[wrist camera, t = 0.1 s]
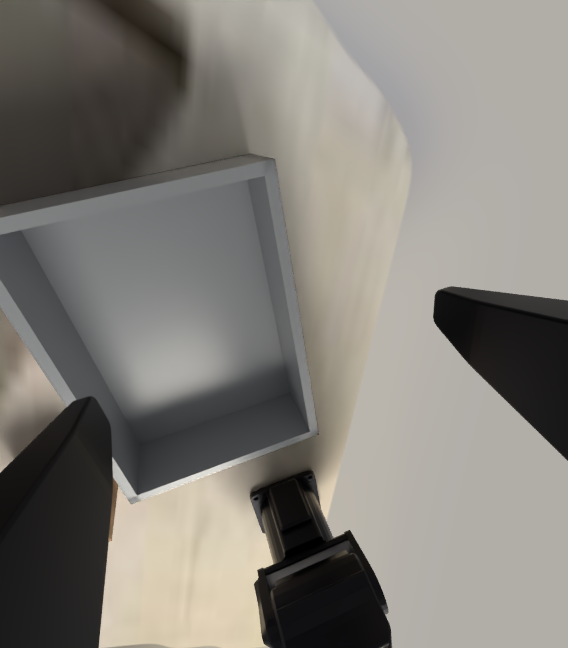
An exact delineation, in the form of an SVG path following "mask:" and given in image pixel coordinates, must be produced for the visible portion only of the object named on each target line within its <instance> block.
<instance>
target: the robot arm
mask: <svg viewBox="0 0 568 648" xmlns="http://www.w3.org/2000/svg"><path fill="white" fill-rule="evenodd" d="M433 318H434V322H435V324H436V325H437V327H438V328H439V329H440V330H441V332H442V333H443V334H444V335H445V336H446V338H447V339H448V340H449V341H450V342H451V343H452V345H453V346H454V347H455V348H456V350H457V351H458V352H459V353H460V354H461V355H462V357H463V358H464V359H465V360H466V361H467V362H468V364H469V365H470V366H471V367H472V368H473V369H474V370H475V371H476V372H477V373H479V375H481V376H482V378H483V379H484V380H486V381H487V382H488V383H489V384H490V385H491V386H492V387H493V388H494V389H495V390H496V391H497V392H498V393H499V394H500V395H501V396H502V397H503V398H504V399H505V400H506V401H507V402H508V403H509V404H510V405H511V406H512V407H513V408H514V409H515V410H516V411H517V412H518V413H520V415H521V416H522V417H523V418H524V419H526V420H527V421H528V422H529V423H530V424H531V425H532V426H533V427H534V428H535V429H536V430H537V431H538V432H539V433H540V434H541V435H542V436H543V437H544V438H545V439H546V440H547V441H548V442H549V443H550V444H551V445H552V446H553V447H554V448H555V449H556V450H557V451H558V452H559V453H560V454H562V456H564V457H565V459H567V460H568V301H567V300H559V299H550V298H542V297H534V296H525V295H517V294H510V293H501V292H493V291H485V290H477V289H469V288H461V287H447V288H444V289H441V290H438V291H437V292H436V294H435V301H434V314H433ZM250 498H251V502H252V505H253V507H254V510H255V513H256V516H257V519H258V522H259V524H260V527H261V530H262V532H263V533H266V537H267V541H268V544H269V548H270V552H271V556H272V559H273V563H274V564H273V565H271V566H269V567H266V568H261V569H259V570H257V571H258V576H259V578H258V580H257V581H256V582H255V583H254V586H255V591H256V596H257V601H258V606H259V615H260V624H261V633H262V639H263V642H264V644H265V645H267V646H268V647H270V648H392V640H391V629H390V625H389V622H388V620H387V618H386V616H385V614H387V613H388V607H387V603H386V600H385V597H384V595H383V591H382V589H381V586H380V584H379V582H378V580H377V577H376V575H375V573H374V571H373V570H372V568H371V566H370V564H369V562H368V561H367V559H366V557H365V555H364V554H363V552H362V550H361V549H360V547H359V545H358V543H357V542H356V540H355V538H354V537H353V535H352V533H351V531H350V530H348V531H346V532H344V534H342V535H340V536H337V537H335V538H333V536H332V533H331V531H330V529H329V527H328V524H327V522H326V520H325V517H324V515H323V513H322V510H321V507H320V502H319V496H318V491H317V485H316V480H315V475H314V473H313V471H307V472H304V473H302V474H299V475H297V476H294V477H291V478H289V479H286V480H284V481H281V482H279V483H276V484H274V485H271V486H268V487H266V488H263V489H261V490H258V491H256V492H253V493H252V494H251V495H250ZM112 499H113V464H112V432H111V425H110V422H109V420H108V418H107V416H106V415H105V413H104V411H103V409H102V408H101V406H100V404H99V403H98V401H97V399H96V398H95V397H93V396H88V397H84V398H81V399H78V400H75V401H73V402H72V403H71V404H70V405H69V406H67V407H66V408H65V409H64V410H63V411H62V412H61V413H60V414H59V415H58V416H57V417H56V418H55V419H54V420H53V421H52V422H51V423H50V424H49V425H48V426H47V427H46V428H45V429H44V430H43V431H42V432H41V433H40V434H39V435H38V436H37V437H36V438H35V439H34V440H33V441H32V442H31V443H30V444H29V445H28V446H27V447H26V448H25V449H24V450H23V451H22V452H21V453H20V454H19V455H18V456H17V457H16V458H15V459H14V460H13V461H12V462H11V463H10V464H9V465H8V466H7V467H6V468H5V469H4V470H3V471H2V472H1V473H0V648H98V647H99V637H100V626H101V616H102V605H103V594H104V584H105V573H106V563H107V552H108V542H109V531H110V520H111V510H112Z"/></svg>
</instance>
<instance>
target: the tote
mask: <svg viewBox="0 0 568 648" xmlns="http://www.w3.org/2000/svg"><path fill="white" fill-rule="evenodd" d="M0 307H1V309H2V310H3V312H4V313H5V315H6V316H7V318H8V319H9V321H10V322H11V324H12V325H13V327H14V328H15V330H16V331H17V333H18V334H19V336H20V337H21V339H22V340H23V342H24V344H25V345H26V347H27V348H28V350H29V351H30V353H31V354H32V356H33V357H34V359H35V360H36V362H37V363H38V365H39V366H40V368H41V369H42V371H43V372H44V374H45V375H46V377H47V378H48V380H49V381H50V383H51V384H52V386H53V387H54V389H55V390H56V392H57V393H58V395H59V396H60V398H61V399H62V401H63V402H64V404H65V405H66V407H67V406H69V405H70V404H71V403H72V402H73V401H75V400H78V399H81V398H84V397H88V396H93V397H95V398H96V399H97V401H98V403H99V404H100V406H101V408H102V409H103V411H104V413H105V415H106V416H107V418H108V420H109V422H110V425H111V432H112V464H113V478H114V479H115V481H116V482H117V484H118V485H119V487H120V489H121V490H122V492H123V493H124V495H125V496H126V498H127V499H128V501H129V502H130V504H133V503H136V502H139V501H141V500H144V499H147V498H149V497H152V496H155V495H158V494H160V493H163V492H166V491H168V490H171V489H174V488H176V487H179V486H182V485H184V484H187V483H190V482H192V481H195V480H198V479H200V478H203V477H206V476H208V475H211V474H214V473H217V472H219V471H222V470H225V469H227V468H230V467H233V466H235V465H238V464H241V463H243V462H246V461H249V460H251V459H254V458H257V457H259V456H262V455H265V454H267V453H270V452H273V451H276V450H278V449H281V448H284V447H286V446H289V445H292V444H294V443H297V442H300V441H302V440H305V439H308V438H310V437H313V436H316V435H318V434H319V433H318V427H317V421H316V414H315V408H314V402H313V395H312V389H311V383H310V377H309V370H308V364H307V358H306V352H305V345H304V339H303V333H302V326H301V320H300V314H299V308H298V301H297V295H296V289H295V283H294V276H293V270H292V264H291V257H290V251H289V245H288V239H287V232H286V226H285V220H284V213H283V207H282V201H281V195H280V188H279V182H278V176H277V170H276V163H275V159H273V158H268V157H263V156H259V155H254V154H247V155H242V156H237V157H233V158H228V159H223V160H218V161H213V162H209V163H204V164H199V165H194V166H189V167H185V168H180V169H175V170H170V171H166V172H161V173H156V174H151V175H146V176H142V177H137V178H132V179H127V180H122V181H118V182H113V183H108V184H103V185H98V186H94V187H89V188H84V189H79V190H75V191H70V192H65V193H60V194H55V195H51V196H46V197H41V198H36V199H31V200H27V201H22V202H17V203H12V204H8V205H3V206H0Z"/></svg>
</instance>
